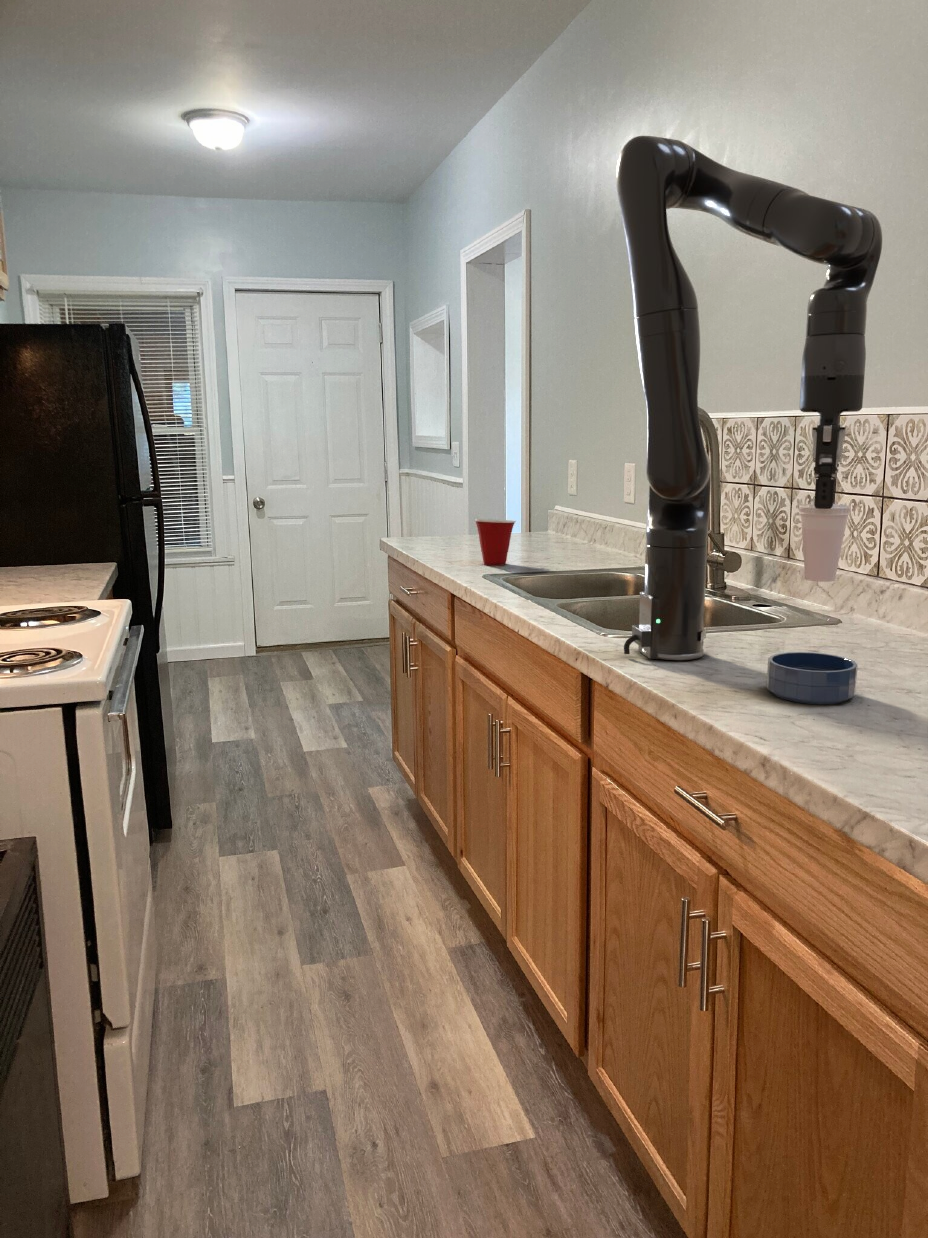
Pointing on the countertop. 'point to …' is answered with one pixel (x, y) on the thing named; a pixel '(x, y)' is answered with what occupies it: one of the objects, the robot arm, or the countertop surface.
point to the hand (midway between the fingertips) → (824, 505)
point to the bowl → (811, 677)
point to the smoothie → (822, 540)
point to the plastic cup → (494, 540)
